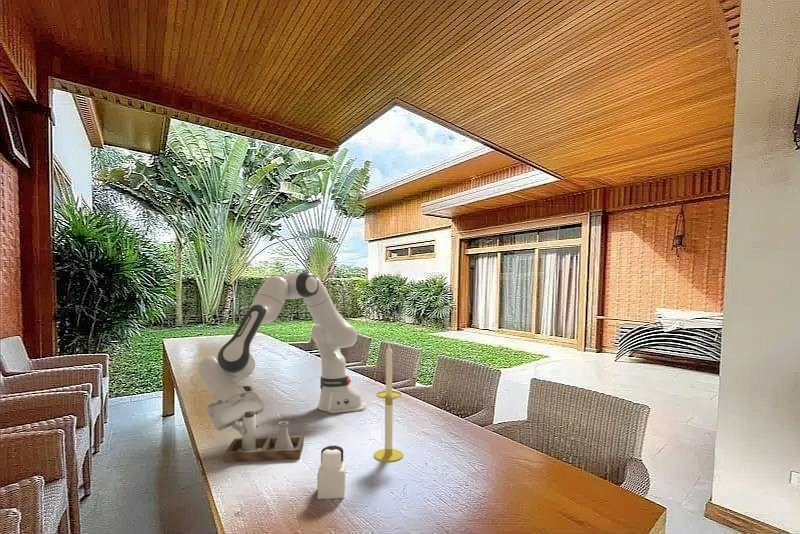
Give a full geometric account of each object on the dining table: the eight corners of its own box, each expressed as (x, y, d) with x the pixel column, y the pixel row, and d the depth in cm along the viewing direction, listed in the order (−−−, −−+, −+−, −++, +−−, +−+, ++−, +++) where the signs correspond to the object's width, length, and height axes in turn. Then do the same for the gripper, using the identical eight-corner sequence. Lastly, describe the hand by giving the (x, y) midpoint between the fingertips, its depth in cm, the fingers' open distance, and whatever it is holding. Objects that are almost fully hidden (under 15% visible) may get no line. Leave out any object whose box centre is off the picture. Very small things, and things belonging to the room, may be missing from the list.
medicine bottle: (320, 486, 116) (320, 443, 116) (345, 485, 117) (345, 442, 117) (317, 499, 109) (317, 454, 109) (344, 498, 109) (344, 453, 110)
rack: (303, 444, 146) (303, 435, 146) (299, 459, 134) (299, 449, 134) (234, 447, 143) (234, 438, 143) (224, 462, 131) (224, 453, 131)
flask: (287, 457, 135) (288, 427, 135) (267, 455, 136) (268, 425, 137) (297, 449, 142) (297, 419, 142) (278, 447, 143) (278, 418, 144)
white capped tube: (256, 445, 141) (256, 410, 141) (255, 451, 136) (255, 414, 137) (242, 447, 139) (243, 411, 140) (241, 452, 135) (241, 415, 136)
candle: (380, 464, 130) (381, 346, 132) (369, 452, 139) (370, 341, 141) (408, 458, 134) (409, 344, 136) (395, 447, 144) (396, 340, 145)
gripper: (209, 399, 132) (232, 435, 127) (254, 385, 150) (275, 415, 146) (199, 412, 133) (221, 447, 129) (245, 396, 152) (265, 426, 148)
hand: (250, 430), depth 138 cm, fingers closed on white capped tube, 4 cm apart
